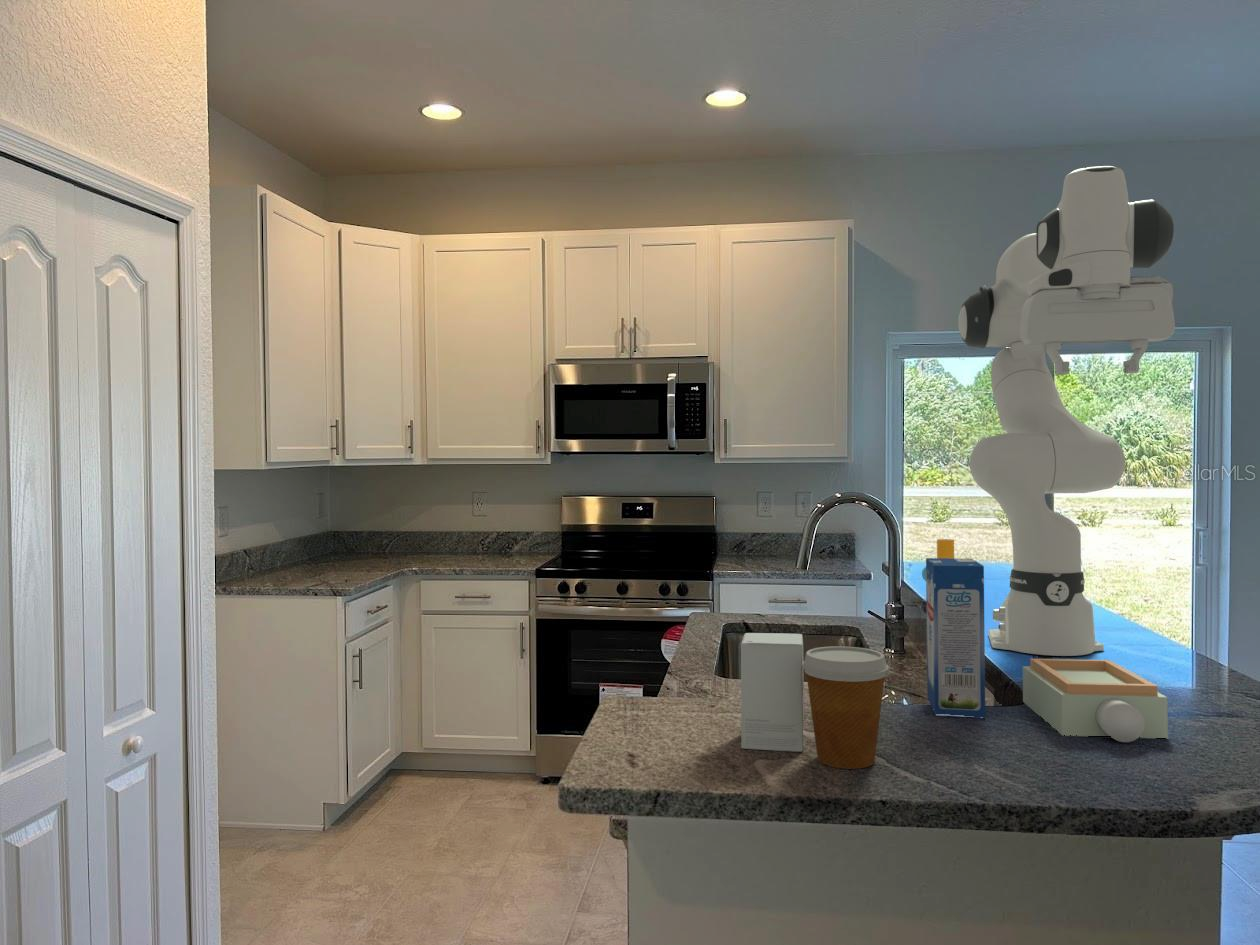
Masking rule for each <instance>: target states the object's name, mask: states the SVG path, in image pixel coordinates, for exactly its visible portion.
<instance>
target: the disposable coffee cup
mask: <svg viewBox="0 0 1260 945" xmlns="http://www.w3.org/2000/svg"><path fill="white" fill-rule="evenodd" d="M802 666H803V668H804V672H805V673H804V674H806V680H807V687H808V694H809V704H810V709H811V710H810V711H811V720H812V727H813V732H814V742H815V749H816V756H817V758H816V759H817V761H819V762H820V763H821V764H824V765H826V766H829V767H832V768H839V769H850V770H851V769H853V770H855V769H864V768H868V767H871V766H873V765H874V764H875V762H876V751H877V750H876V749H877V742H878V735H879V728H880V727H879V726H880V725H879V724H880V720H881V719H880V718H881V711H882V708H881V707H882V701H883V692H884V683H885V677H886V676H887V672H888V671H889V669H890V666H889V664H887V662H886V657H885V655H884V653H883V652H881V651H877V650H875V649H871V648H865V647H856V646H837V645H836V646H822V647H821V646H820V647H814V648H811V649H809V650H807V651H806V652H805V657H804V660H803V663H802Z"/></svg>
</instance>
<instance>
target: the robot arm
mask: <svg viewBox="0 0 1260 945" xmlns="http://www.w3.org/2000/svg"><path fill="white" fill-rule="evenodd" d="M1062 186H1063V188H1062V194H1061V199H1060V201H1059V203H1058V205H1057V207H1056V208H1054V209H1053V210H1051V211H1050V212H1048V213H1047V214H1046V215H1045V216H1044V217H1043V218H1042V219H1041V220H1040V221H1038V223H1037V225H1036V229H1035V230H1036V232H1035V233H1028V234H1025V235H1024V236H1021V237H1020V238H1018V239H1017V240H1015V241H1014V242H1013V243H1011V245H1009V246H1008V247H1007V248H1006V249H1005V251H1004V252H1003V253H1002V255H1001V257H1000V258H999V261H998V264H997V266H996V271H995V284H994V285H993V286H989V287H986V285H984V284H983V285H981V286H980V287H979V290H978V291H977V292H975V293H973V294H971V295H970V296H969V297H968V298H967V299H966V300H965V301H964V302H963V303H962V304H961V309H960V311H959V315H958V319H957V325H958V330H959V331H958V332H959V334H960V336H961V339H962V341H963V343H965V345H967V346H969V347H972V348H980V349H985V348H986V347H988V348H1002V349H1001V350H1000V351H998V353H996V355H994V357H993V359H992V361H991V362H992V363H991V366H990V369H991V370H990V379H991V380H990V381H991V382H990V383H991V388H992V389H991V390H992V395H993V399H994V403H995V405H996V411H997V413H998V417H999V422H1000V425H1001V426H1002V428H1003V429H1004V430H1005V432H1006V433H1002V434H1001V433H1000V434H996V435H991V436H987V437H983V438H980V440H979V441H978V442H977V443H976V444H975V446H974V447H973V448H972V452H971V453H970V458H969V470H970V474H971V477H972V479H973V480H974V482H975V483H976V485H978V487H980V489H982V490H983V491H985V492H986V493H987V494H988V495H990V496H991V497H992V498H993V499H995V501H996V502H997V503H998V504H999V506H1000V507H1001V508H1002V511H1003V512H1004V513H1005V516H1006V518H1007V520H1008V524H1009V527H1010V533H1011V541H1012V542H1011V543H1012V556H1013V557H1012V558H1013V559H1012V560H1013V561H1012V562H1013V568H1011V570H1010V576H1009V586H1008V587H1009V588H1010V590H1009V592H1008V594H1007V596H1006V598H1005V599H1004V601H1003V603H1002V604H1001V606H999V607H998V608H994V609H992V621H994V622H998V628H993V629H988V634H989V635H988V638H989V642H990V645H991V647H992V648H993V649H997V650H1004V651H1005V650H1008V651H1013V652H1018V653H1023V654H1025V653H1026V654H1031V655H1040V656H1057V657H1059V656H1061V657H1069V656H1070V657H1073V656H1075V657H1076V656H1085V655H1089V654H1092V653H1094V652H1100V651H1104V650H1105V648H1104V647H1105V646H1104V644H1103V643H1101V642H1098V641H1096V631H1095V618H1094V608H1093V604H1092V603H1091V602H1090V601H1089V600H1088V599H1087V598H1086V597H1085V596H1084V594H1083V592H1084V591H1085V575H1084V571H1082V554H1081V553H1082V550H1081V549H1082V543H1081V542H1082V541H1081V539H1082V536H1081V535H1082V534H1081V531H1080V528H1079V527H1078V526H1077V524H1076V523H1075V522H1074V521H1073V520H1071V519H1070V518H1068V517H1066V516H1065V515H1062V514H1060V513H1059V512H1056V511H1053V510H1052V509H1050V508H1049V506H1048V504H1047V501H1046V497H1045V495H1046V494H1086V493H1093V492H1099V491H1103V490H1104V491H1105V490H1107V489H1111V488H1113V487H1115V486H1116V485H1117V484H1118V482H1119V481H1120V480H1121V478H1122V477H1123V474H1124V473H1125V468H1126V457H1125V453H1124V451H1123V448H1122V446H1121V444H1120V443H1119V442H1118V441H1117V440H1116V439H1115V438H1114V437H1113V436H1112V435H1108V434H1105V433H1102V432H1100V431H1098V430H1096V429H1093V428H1092V427H1090V426H1088V425H1087V424H1085V423H1083V422H1082V421H1080V420H1079V418H1076V417H1075V416H1074V415H1073V414H1072V413H1071V412H1070V411H1069V410H1068V409H1067V408H1066V406H1065V405H1064V404H1063V401H1062V399H1061V397H1060V395H1059V392H1058V389H1057V387H1056V385H1055V382H1054V378H1053V376H1052V374H1051V372H1050V369H1049V367H1048V364H1047V360H1046V354H1047V355H1048V357H1049V358H1050V360H1051V361H1052V363H1053V364H1054V374H1055V376H1064V375H1069V374H1070V361H1064V359H1063V358H1062V356H1061V354H1060V353H1059V351H1060V350H1062V345H1066V344H1068V345H1071V344H1072V345H1073V344H1075V345H1076V344H1077V345H1078V344H1105V343H1106V344H1110V343H1130V349H1131V351H1132V350H1134V351H1133V353H1132V355H1131V357H1130V359H1129V360H1128V359H1127V360H1125V361H1123V362H1122V364H1123V365H1122V366H1123V369H1122V370H1123V371H1122V372H1123V374H1138V373H1139V372H1140V360H1141V359H1142V358H1143V355H1144V354H1145V352H1146V350H1148V344H1149V342H1162V341H1165V340H1168V339H1170V338H1171V337H1172V336H1173V334H1174V333H1175V331H1176V322H1175V314H1174V313H1175V312H1174V308H1173V298H1174V289H1173V284H1172V283H1170V281H1168V280H1167V279H1164V278H1163V276H1157V275H1154V276H1131V268H1133V269H1149V268H1151V267H1152V266H1154V265H1155V264H1156V263H1157V262H1159V261H1160V260H1161V259H1162V258H1163V257H1164V256H1165V255H1166V253H1167V252H1168V251H1169V249H1170V247H1171V245H1172V241H1173V237H1174V230H1175V229H1174V228H1175V227H1174V220H1173V217H1172V215H1171V214H1170V213H1169V211H1168V210H1167V209H1166V208H1165V207H1163V205H1161V204H1160V203H1159V202H1158V201H1156V200H1154V199H1144V200H1139V201H1138V200H1137V201H1134V202H1129V193H1128V191H1129V190H1128V186H1127V180H1126V176H1125V173H1124V170H1123V169H1121V168H1119V167H1116V166H1112V165H1103V166H1102V165H1101V166H1089V167H1086V168H1085V167H1083V168H1078V169H1074V170H1073V171H1070V172H1069V173H1068V174H1066V175H1065V178H1064V179H1063V185H1062Z"/></svg>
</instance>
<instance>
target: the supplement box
mask: <svg viewBox="0 0 1260 945" xmlns="http://www.w3.org/2000/svg"><path fill="white" fill-rule="evenodd" d="M803 661H804V638H803V634H802V633H783V632H780V633H779V632H778V633H777V632H776V633H775V632H745V633H744V634H743V637H742V640H741V643H740V682H741V683H740V701H741V702H740V709H741V710H740V711H741V712H740V713H741V714H740V716H741V717H740V718H741V720H740V722H741V724H740V725H741V726H740V727H741V728H740V730H741V731H740V732H741V737H740V738H741V740H740V741H741V745H740V746H741V749H744V750H745V749H747V750H758V751H759V750H760V751H762V750H763V751H779V752H796V753H797V752H798V753H799V752H800V753H801V752H803V750H804V715H805V714H804V711H805V710H804V702H805V701H804V700H805V699H804V698H805V697H804V696H805V693H804V691H805V690H804V682H805V681H804V674H805V673H804V672H805V671H804V668H803V666H802V663H803Z"/></svg>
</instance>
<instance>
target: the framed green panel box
mask: <svg viewBox="0 0 1260 945" xmlns="http://www.w3.org/2000/svg"><path fill="white" fill-rule="evenodd" d="M1158 690H1159V689H1158V685H1156V684H1154V683H1153V682H1151V681H1149V680H1147V679H1145V678H1143V677H1142V676H1140V675H1138V674H1136V673H1134V672H1133V671H1130V670H1129V669H1126V668H1124V667H1123V666H1121V665H1119V664H1117V663H1116V662H1114V661H1112V660H1109V659H1081V658H1080V659H1079V658H1078V659H1073V658H1071V659H1070V658H1067V659H1066V658H1030V665H1028V666H1027V665H1026V666H1025V665H1022V702H1023V703H1024V704H1025V705H1026V706H1027V707H1028V708H1030V709H1031V710H1032V712H1034V713H1035V714H1037V716H1039V717H1040V716H1041V717H1042V718H1043V719H1044V720H1043V719H1042V718H1041V717H1040V718H1041V719H1042V720H1043V721H1045V722H1046V723H1047V722H1048V723H1049V724H1050V725H1051V726H1050V725H1049V724H1048V723H1047V724H1048V725H1049V726H1050V727H1052V729H1054V728H1055V729H1056V730H1057V731H1058V732H1057V731H1056V730H1055V729H1054V730H1055V731H1056V732H1057V733H1058V734H1060V735H1061V736H1062V737H1088V736H1111V737H1110V738H1112V739H1114V740H1115V741H1117V742H1120V743H1131V742H1134V741H1136V740H1137V739H1156V738H1166V739H1165V740H1168V739H1169V738H1168V737H1169V734H1168V733H1169V729H1168V728H1169V725H1168V722H1169V721H1168V719H1169V717H1168V710H1169V709H1168V696H1166V695H1164V694H1162V693H1161V692H1159V691H1158ZM1064 735H1065V736H1064ZM1070 735H1071V736H1070ZM1076 735H1077V736H1076ZM1139 737H1140V738H1139Z"/></svg>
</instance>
